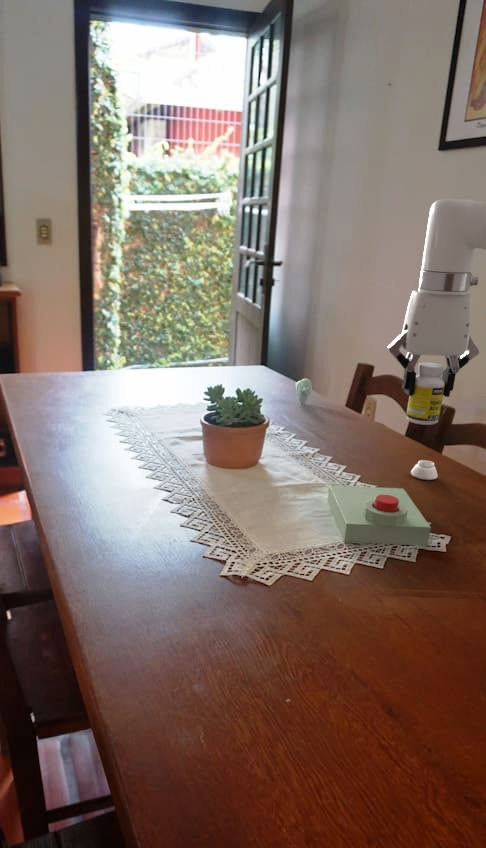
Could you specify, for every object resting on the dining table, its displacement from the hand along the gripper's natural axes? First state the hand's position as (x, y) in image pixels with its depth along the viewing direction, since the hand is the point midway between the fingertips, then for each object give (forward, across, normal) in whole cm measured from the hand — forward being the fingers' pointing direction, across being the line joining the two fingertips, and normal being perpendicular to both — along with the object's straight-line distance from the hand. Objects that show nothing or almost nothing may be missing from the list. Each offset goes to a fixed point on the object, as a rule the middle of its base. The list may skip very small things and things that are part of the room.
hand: (426, 393), depth 116 cm
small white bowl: (+20, -6, -12) cm, 24 cm away
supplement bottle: (+5, 0, 0) cm, 5 cm away
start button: (+15, +9, +16) cm, 24 cm away
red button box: (+19, +9, +11) cm, 24 cm away
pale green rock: (+19, +12, -65) cm, 68 cm away
